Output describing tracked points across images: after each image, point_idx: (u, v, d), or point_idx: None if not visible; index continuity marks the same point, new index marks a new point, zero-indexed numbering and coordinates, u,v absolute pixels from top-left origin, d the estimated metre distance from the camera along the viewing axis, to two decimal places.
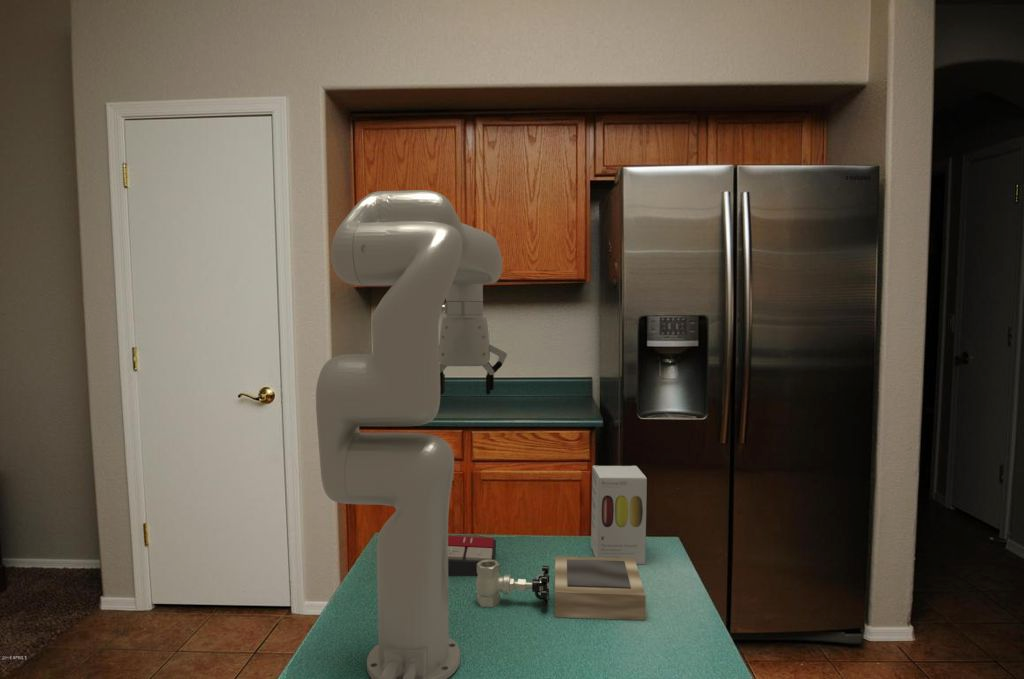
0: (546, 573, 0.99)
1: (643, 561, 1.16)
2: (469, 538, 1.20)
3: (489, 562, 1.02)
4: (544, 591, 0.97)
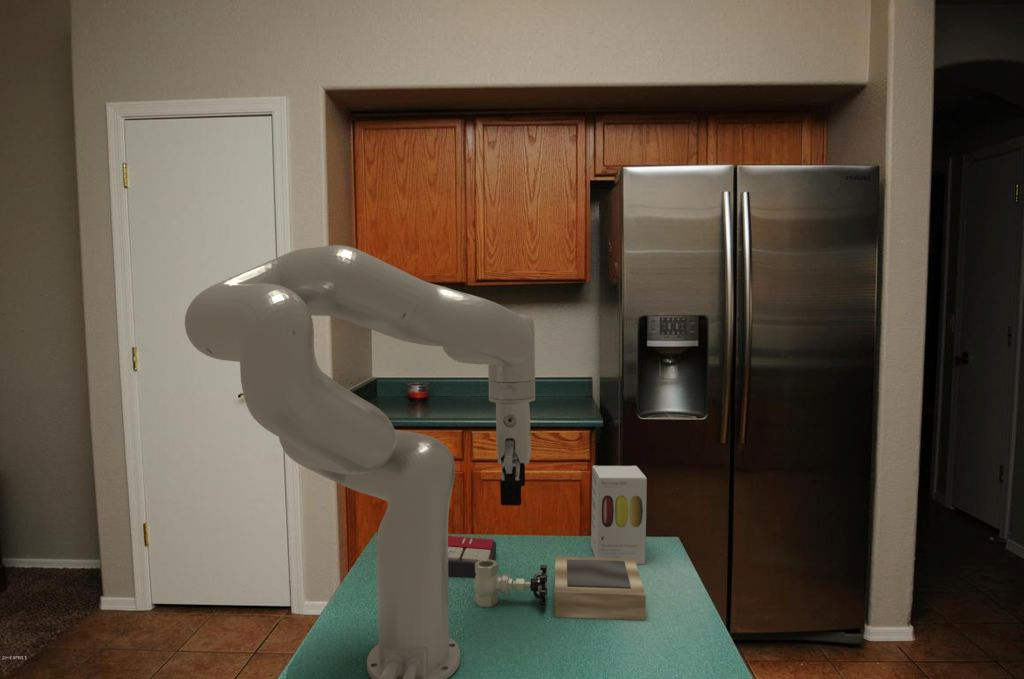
0: (544, 572, 0.99)
1: (643, 561, 1.16)
2: (469, 539, 1.20)
3: (487, 562, 1.02)
4: (543, 590, 0.97)
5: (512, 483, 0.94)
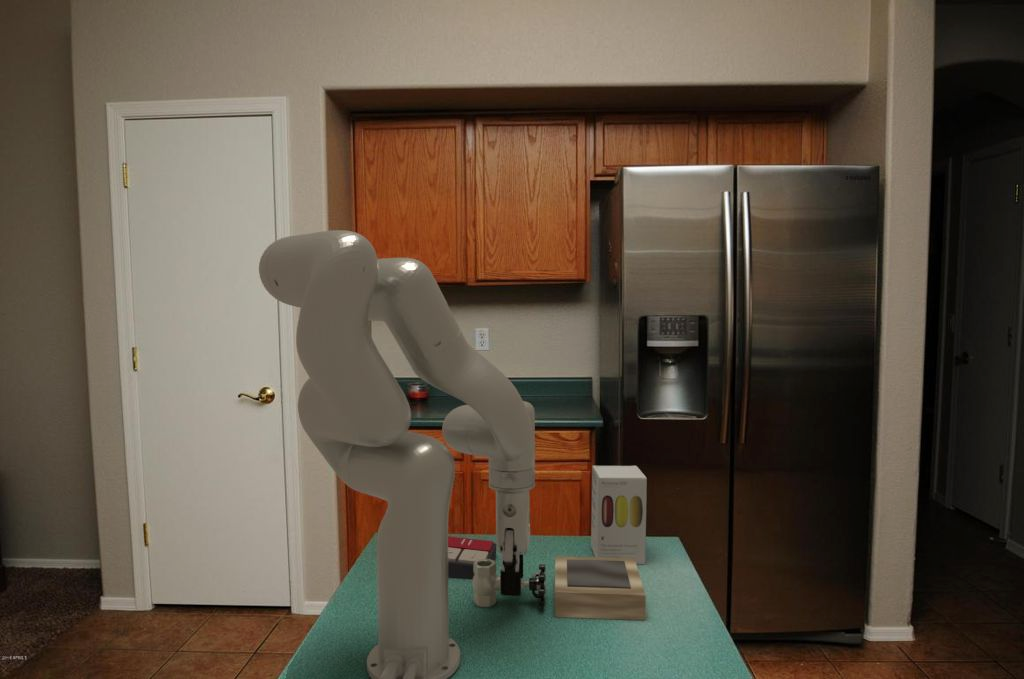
0: (543, 571, 0.99)
1: (643, 561, 1.16)
2: (469, 540, 1.19)
3: (486, 561, 1.02)
4: (541, 589, 0.97)
5: (511, 575, 0.96)
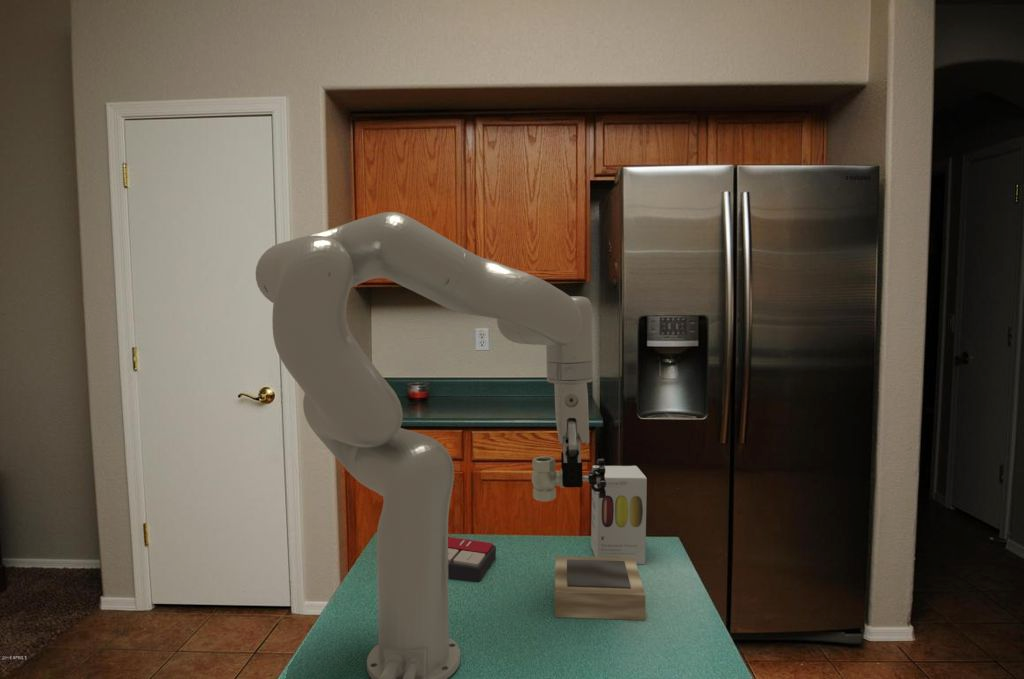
0: (602, 465, 1.00)
1: (643, 561, 1.16)
2: (468, 541, 1.18)
3: (544, 459, 1.03)
4: (603, 480, 0.98)
5: (574, 466, 0.97)
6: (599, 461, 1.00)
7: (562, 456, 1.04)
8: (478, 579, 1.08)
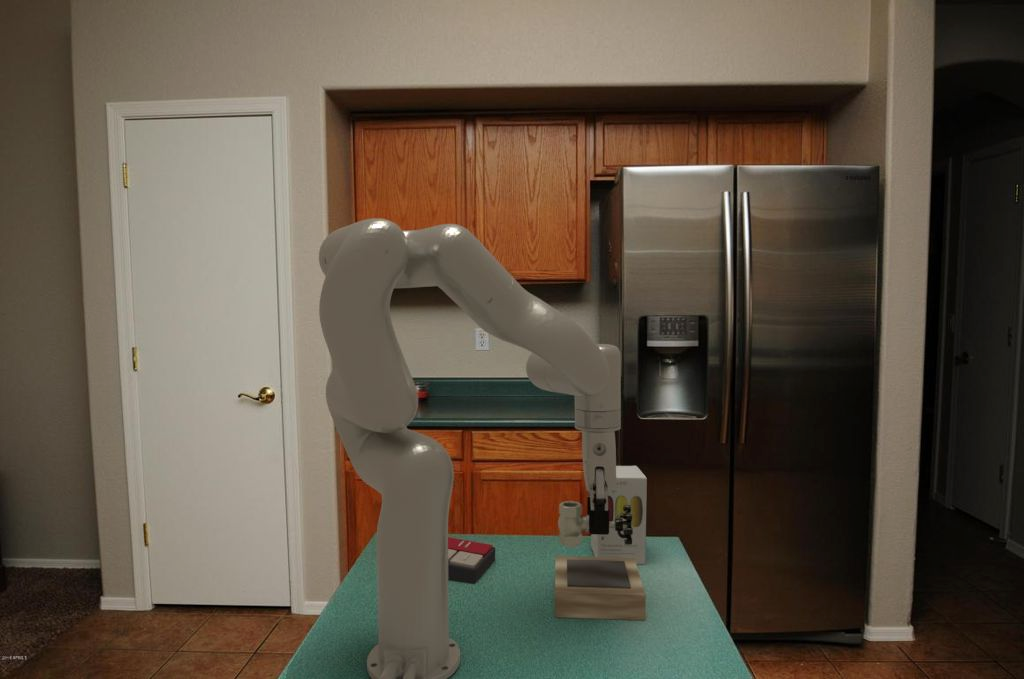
0: (629, 512, 1.01)
1: (643, 561, 1.16)
2: (468, 542, 1.18)
3: (570, 503, 1.03)
4: (629, 528, 0.99)
5: (601, 513, 0.98)
6: (626, 508, 1.01)
7: (588, 501, 1.05)
8: (474, 581, 1.08)
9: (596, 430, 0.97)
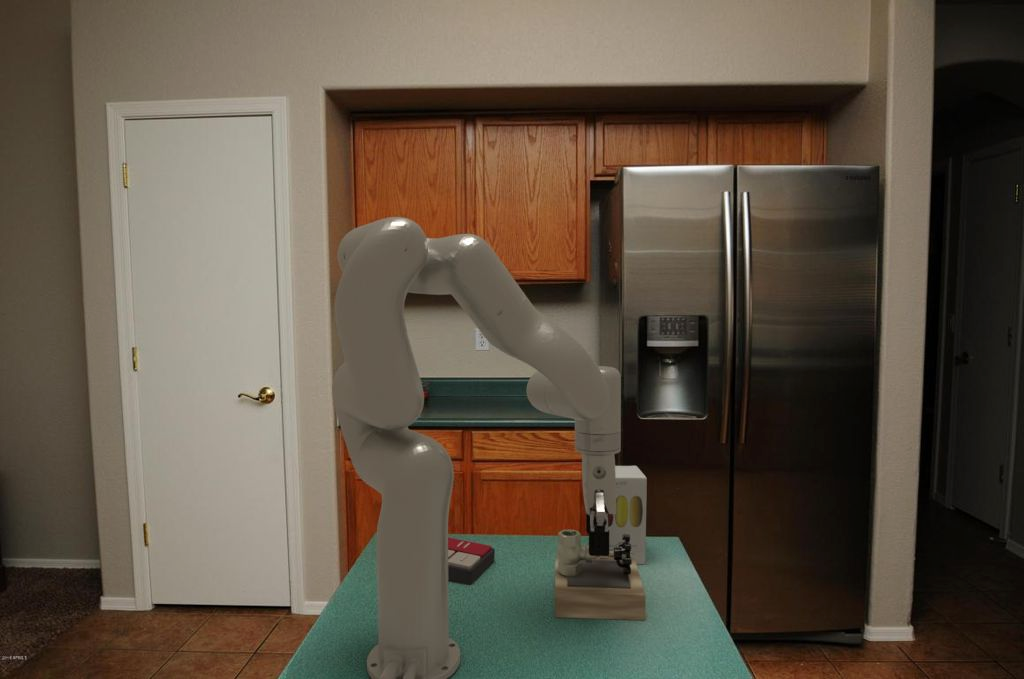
0: (628, 541, 1.01)
1: (643, 561, 1.16)
2: (467, 543, 1.18)
3: (569, 532, 1.03)
4: (628, 558, 0.99)
5: (601, 534, 0.96)
6: (625, 537, 1.01)
7: (587, 514, 1.06)
8: (470, 582, 1.07)
9: (596, 453, 0.97)
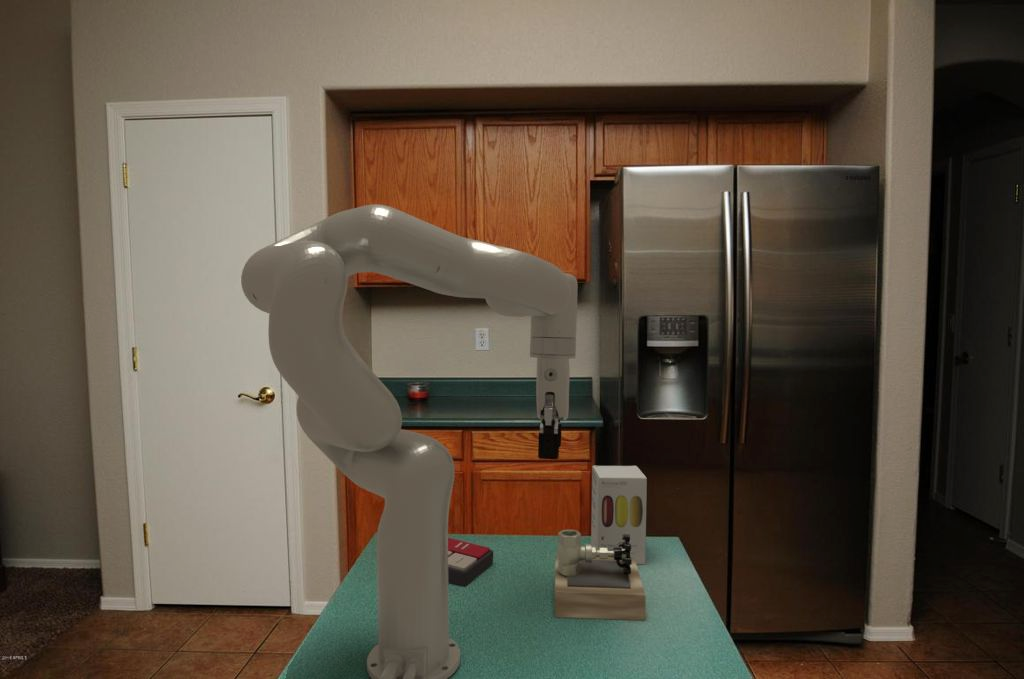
0: (628, 541, 1.01)
1: (643, 561, 1.16)
2: (466, 544, 1.17)
3: (569, 532, 1.03)
4: (628, 558, 0.99)
5: (550, 436, 0.95)
6: (625, 537, 1.01)
7: None
8: (464, 583, 1.07)
9: (549, 356, 0.97)
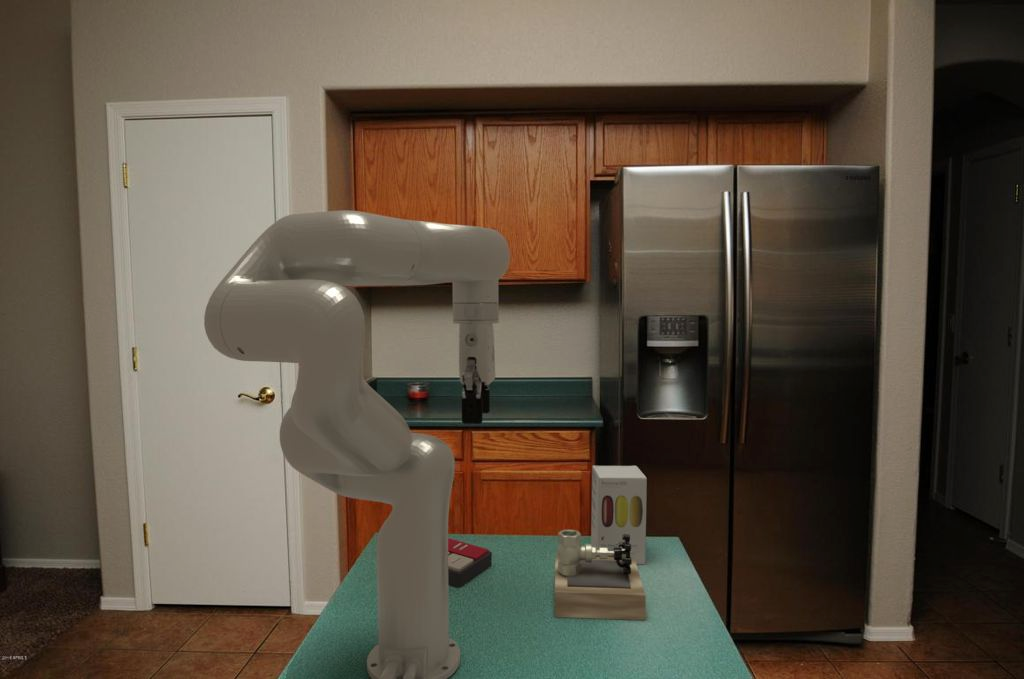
0: (628, 541, 1.01)
1: (643, 561, 1.16)
2: (465, 545, 1.17)
3: (569, 532, 1.03)
4: (628, 558, 0.99)
5: (472, 401, 0.96)
6: (625, 537, 1.01)
7: None
8: (459, 584, 1.06)
9: (470, 322, 0.97)
